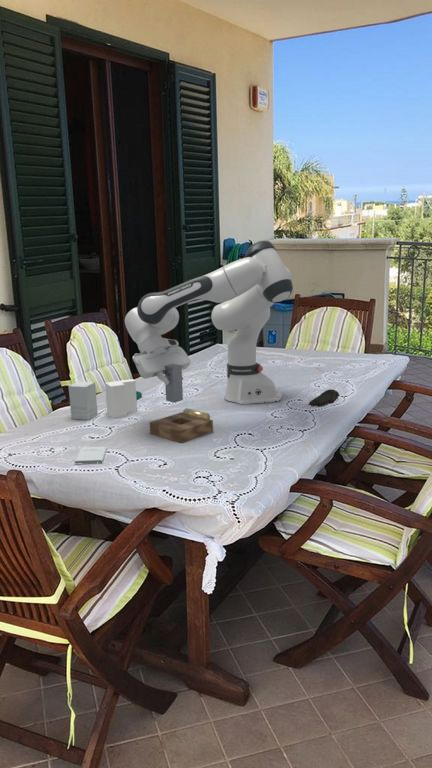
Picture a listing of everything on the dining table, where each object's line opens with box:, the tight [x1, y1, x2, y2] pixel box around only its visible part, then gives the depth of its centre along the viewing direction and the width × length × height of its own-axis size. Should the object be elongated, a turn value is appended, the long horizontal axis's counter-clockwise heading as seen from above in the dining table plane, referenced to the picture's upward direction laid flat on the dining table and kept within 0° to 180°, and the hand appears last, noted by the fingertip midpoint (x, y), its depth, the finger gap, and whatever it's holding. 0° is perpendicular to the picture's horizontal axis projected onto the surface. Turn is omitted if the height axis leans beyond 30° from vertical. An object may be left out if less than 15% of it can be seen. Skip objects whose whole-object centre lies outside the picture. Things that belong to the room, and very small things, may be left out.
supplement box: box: [68, 381, 99, 421], centre depth 241 cm, size 7×7×13 cm
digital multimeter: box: [136, 390, 143, 401], centre depth 262 cm, size 7×15×3 cm, turn 162°
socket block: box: [149, 411, 214, 444], centre depth 221 cm, size 15×15×4 cm
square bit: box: [164, 364, 184, 404], centre depth 219 cm, size 4×4×12 cm
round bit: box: [182, 408, 211, 420], centre depth 233 cm, size 10×4×4 cm, turn 47°
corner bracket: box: [104, 378, 138, 419], centre depth 246 cm, size 11×11×12 cm
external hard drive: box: [74, 445, 108, 464], centre depth 201 cm, size 2×8×12 cm
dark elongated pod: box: [308, 389, 340, 408], centre depth 256 cm, size 22×7×3 cm, turn 149°
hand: (175, 382), depth 218 cm, fingers closed on square bit, 4 cm apart
